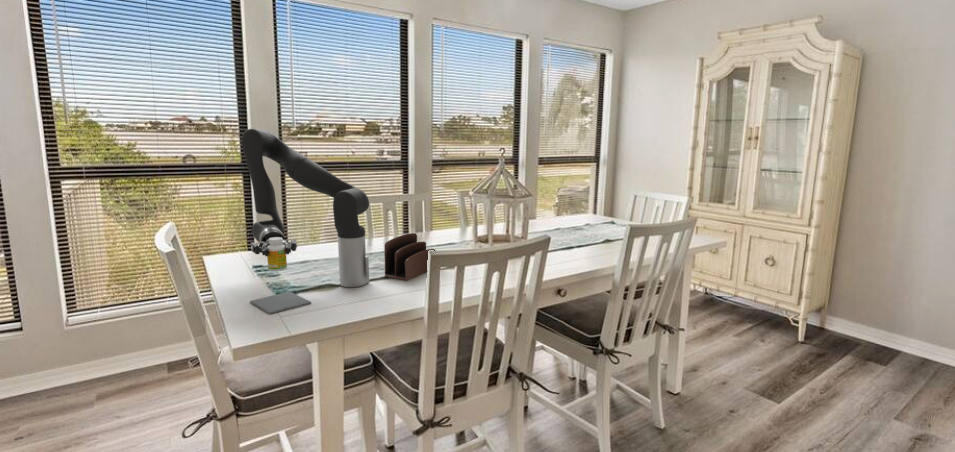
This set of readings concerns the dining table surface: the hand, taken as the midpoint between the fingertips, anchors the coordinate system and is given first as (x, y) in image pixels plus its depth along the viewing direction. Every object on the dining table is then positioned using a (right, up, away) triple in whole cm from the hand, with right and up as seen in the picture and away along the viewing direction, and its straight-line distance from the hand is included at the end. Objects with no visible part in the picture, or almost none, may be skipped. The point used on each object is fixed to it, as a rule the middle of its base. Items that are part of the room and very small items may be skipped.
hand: (277, 252), depth 151 cm
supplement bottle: (-1, -6, +4) cm, 7 cm away
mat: (-1, -16, +6) cm, 17 cm away
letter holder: (+35, -10, +40) cm, 54 cm away
